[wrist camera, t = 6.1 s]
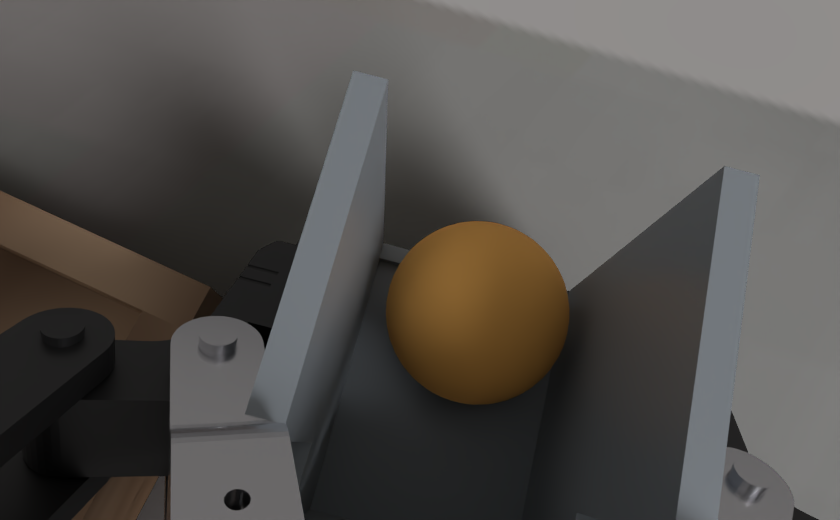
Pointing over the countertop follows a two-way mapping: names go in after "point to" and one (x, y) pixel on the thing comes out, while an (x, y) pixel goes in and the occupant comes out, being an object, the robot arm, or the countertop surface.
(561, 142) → the countertop surface
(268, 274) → the robot arm
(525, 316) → the ball
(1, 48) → the countertop surface
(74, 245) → the tray
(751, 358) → the countertop surface
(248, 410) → the holder
